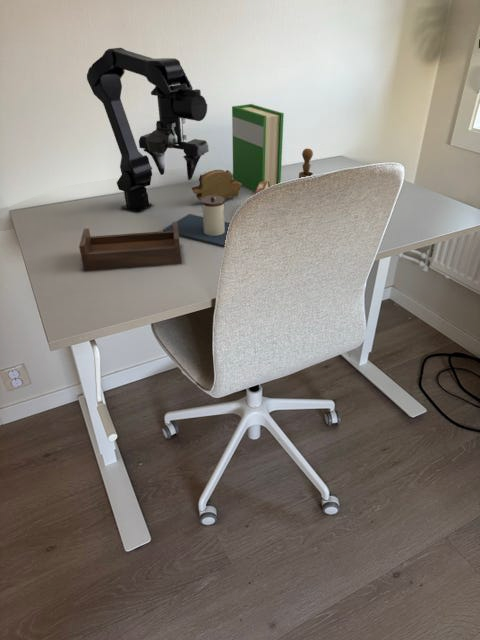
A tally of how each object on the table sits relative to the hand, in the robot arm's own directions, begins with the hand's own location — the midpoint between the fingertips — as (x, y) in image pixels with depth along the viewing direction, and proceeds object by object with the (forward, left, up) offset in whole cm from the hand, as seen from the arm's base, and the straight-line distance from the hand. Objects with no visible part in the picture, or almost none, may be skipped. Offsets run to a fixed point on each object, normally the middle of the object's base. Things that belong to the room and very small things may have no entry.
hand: (175, 177), depth 127 cm
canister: (+13, -2, -12) cm, 18 cm away
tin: (+18, +17, -13) cm, 28 cm away
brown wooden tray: (+3, -24, -13) cm, 27 cm away
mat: (+10, -2, -13) cm, 16 cm away
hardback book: (+5, +38, -13) cm, 41 cm away
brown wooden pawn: (+28, +25, -13) cm, 40 cm away
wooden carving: (+1, +19, -13) cm, 23 cm away
